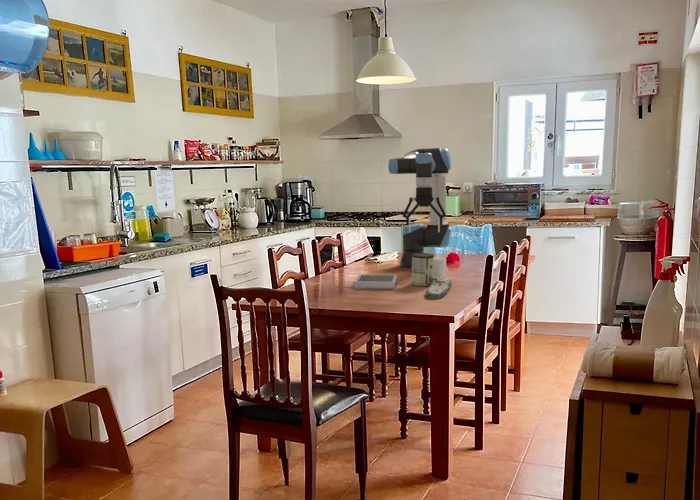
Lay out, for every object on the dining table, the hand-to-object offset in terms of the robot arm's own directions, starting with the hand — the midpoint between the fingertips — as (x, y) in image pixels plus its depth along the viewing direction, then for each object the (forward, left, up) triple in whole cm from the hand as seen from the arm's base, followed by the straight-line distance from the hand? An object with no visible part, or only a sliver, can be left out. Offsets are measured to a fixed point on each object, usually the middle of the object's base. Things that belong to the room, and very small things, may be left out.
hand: (424, 232), depth 280 cm
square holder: (+3, -23, -25) cm, 34 cm away
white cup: (-15, +6, -25) cm, 30 cm away
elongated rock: (+14, +6, -26) cm, 30 cm away
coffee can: (0, -1, -25) cm, 25 cm away
